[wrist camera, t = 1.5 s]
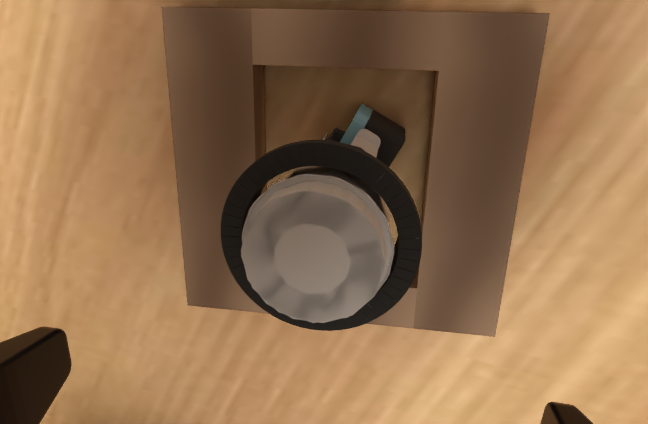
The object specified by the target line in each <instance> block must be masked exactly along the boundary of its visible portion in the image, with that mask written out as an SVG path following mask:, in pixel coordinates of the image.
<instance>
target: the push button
mask: <svg viewBox="0 0 648 424" xmlns="http://www.w3.org/2000/svg"><path fill="white" fill-rule="evenodd" d="M327 135H328V134H327V133H326V135H325V136H324V137H323V139H322V140H307V141H299V142H294V143H290V144H287V145H284V146H281V147H278V148H276V149H274V150H272V151H270V152H268V153H267V154H265V155H263V156H262V157H260V158H259V159H258V160H256V161H255V162H254V163H253V164H252V165H250V166H249V167H248V168H247V169H246V170H245V171H244V172H243V173H242V174H241V176H240V177H239V178H238V179H237V181H236V182H235V184H234V185H233V187H232V188H231V190H230V192H229V194H228V196H227V199H226V202H225V205H224V208H223V212H222V217H221V243H222V249H223V253H224V257H225V259H226V262H227V265H228V267H229V269H230V271H231V274H232V275H233V277H234V279H235V280H236V282H237V283H238V285H239V286H240V287H241V289H242V290H243V291H244V292H245V293H246V295H247V296H248V297H249V298H250V299H251V300H252V301H253V302H255V303H256V304H257V305H258V306H259V307H261V308H262V309H263V310H265V311H266V312H268V313H269V314H271V315H272V316H274V317H276V318H278V319H280V320H282V321H285V322H287V323H290V324H292V325H296V326H299V327H303V328H308V329H314V330H328V331H331V330H343V329H349V328H353V327H357V326H360V325H363V324H366V323H368V322H370V321H372V320H374V319H377V318H378V317H380V316H381V315H383V314H385V313H386V312H387V311H389V310H390V309H391V308H392V307H394V306H395V305H396V304H397V303H398V302H399V301H400V300H401V298H402V297H403V296H404V295H405V293H406V292H407V291H408V289H409V287H410V286H411V284H412V282H413V280H414V278H415V276H416V273H417V270H418V267H419V264H420V259H421V252H422V232H421V224H420V219H419V215H418V211H417V208H416V206H415V203H414V201H413V199H412V197H411V195H410V193H409V191H408V190H407V188H406V187H405V185H404V184H403V182H402V181H401V180H400V179H399V178H398V176H397V175H396V174H395V173H394V172H393V171H392V170H391V169H390V168H389V166H390V164H391V163H392V161H393V160H394V158H395V157H396V155H397V153H398V152H399V150H400V149H401V147H402V146H403V144H404V142H405V129H404V128H403V127H401V126H399V125H398V124H396V123H394V122H393V121H391V120H389V119H388V118H386V117H384V116H383V115H381V114H379V113H378V112H376V111H374V110H373V109H371V108H369V107H368V106H366V105H364V104H363V103H361V105H360V107H359V108H358V110H357V112H356V113H355V115H354V118H353V120H352V122H351V123H350V125H349V127H348V129H347V130H346V132H343V131H341V130H340V129H338V128H335V129H334V131H333V132H332V134H331V136H330V138H329V139H328V140H325V139H326V137H327ZM295 168H296V169H295ZM291 169H295V170H294V171H293V172H292V173H291V174H290V175H289V176H288V177H287V178H286V179H285V180H283V181H280V182H277V183H275V184H273V185H272V186H270V187H269V188H268V189H267V190H266V191H265V192H264V193H263V194H262V195H261V192H262V190H263V188H264V186H265V184H266V183H267V182H268V181H269V180H270V179H272V178H274V177H275V176H277V175H279V174H281V173H283V172H285V171H288V170H291ZM260 195H261V196H260ZM384 201H385V203H386V204H387V206H388V208H389V209H390V211H391V213H392V215H393V217H394V220H395V223H396V226H397V231H398V237H397V241H396V244H395V247H394V242H393V238H392V235H391V231H390V227H389V216H388V213H387V209H386V206H385V203H384Z"/></svg>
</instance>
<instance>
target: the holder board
mask: <svg viewBox="0 0 648 424" xmlns="http://www.w3.org/2000/svg"><path fill="white" fill-rule="evenodd" d="M549 14H550V13H498V12H440V11H382V10H324V9H266V8H209V7H162V17H163V29H164V40H165V52H166V63H167V74H168V86H169V97H170V109H171V120H172V131H173V143H174V154H175V166H176V177H177V188H178V200H179V211H180V223H181V234H182V245H183V257H184V268H185V280H186V291H187V303H188V305H190V306H200V307H210V308H220V309H229V310H239V311H249V312H259V313H268V312H266V311H265V310H263V309H262V308H261V307H259V306H258V305H257V304H256V303H255V302H253V301H252V300H251V299H250V298H249V297H248V296H247V295H246V293H245V292H244V291H243V290H242V289H241V287H240V286H239V285H238V283H237V282H236V280H235V279H234V277H233V275H232V274H231V271H230V269H229V267H228V265H227V262H226V259H225V257H224V253H223V249H222V243H221V217H222V212H223V208H224V205H225V202H226V199H227V196H228V194H229V192H230V190H231V188H232V187H233V185H234V184H235V182H236V181H237V179H238V178H239V177H240V176H241V174H242V173H243V172H244V171H245V170H246V169H247V168H248V167H249V166H250V165H252V164H253V163H254V162H255V161H256V160H258V159H259V158H260V157H262V156H263V155H265V154H266V147H265V99H264V65H278V66H309V67H339V68H369V69H399V70H429V71H436V74H435V84H434V94H433V105H432V115H431V125H430V136H429V146H428V156H427V166H426V177H425V187H424V197H423V208H422V218H421V232H422V252H421V259H420V264H419V267H418V270H417V273H416V276H415V278H414V280H413V282H412V284H411V286H410V287H409V289H408V291H407V292H406V293H405V295H404V296H403V297H402V298H401V300H400V301H399V302H398V303H397V304H396V305H395V306H394V307H392V308H391V309H390V310H389V311H387V312H386V313H385V314H383V315H381V316H380V317H378V318H377V319H374V320H372V321H370V322H368V323H366V324H376V325H386V326H395V327H405V328H415V329H425V330H434V331H444V332H454V333H464V334H473V335H483V336H493V337H495V334H496V328H497V322H498V316H499V310H500V304H501V298H502V292H503V286H504V280H505V274H506V269H507V263H508V257H509V251H510V245H511V239H512V233H513V227H514V221H515V215H516V209H517V203H518V198H519V192H520V186H521V180H522V174H523V168H524V162H525V156H526V150H527V144H528V138H529V132H530V126H531V121H532V115H533V109H534V103H535V97H536V91H537V85H538V79H539V73H540V67H541V61H542V55H543V49H544V44H545V38H546V32H547V26H548V20H549ZM265 191H266V184H265V186H264V188H263V190H262V192H261V195H262V194H263V193H264V192H265ZM261 195H260V196H261ZM268 314H269V313H268Z"/></svg>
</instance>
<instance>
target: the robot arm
mask: <svg viewBox="0 0 648 424" xmlns="http://www.w3.org/2000/svg"><path fill="white" fill-rule="evenodd" d="M70 370H71V358H70V352H69V347H68V342H67V337H66V334H65V332H64V331H63V330H61V329H58V328H51V327H39V328H37V329H34V330H31V331H29V332H26V333H24V334H21V335H19V336H16V337H14V338H11V339H9V340H6V341H3V342H1V343H0V424H40V422H41V420H42V419H43V417H44V415H45V414H46V412H47V410H48V409H49V407H50V405H51V404H52V402H53V400H54V399H55V397H56V396H57V394H58V392H59V391H60V389H61V387H62V386H63V384H64V382H65V381H66V379H67V377H68V375H69V373H70ZM541 424H593V423H592V422H591V421H590V420H589V419H588V418H587V417H586V416H585V415H584V414H583V413H582V412H581V411H580V410H579V409H578V408H576V407H575V406H573V405H570V404H563V403H557V402H550V403H548V404H547V405H546V407H545V410H544V413H543V417H542V420H541Z"/></svg>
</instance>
